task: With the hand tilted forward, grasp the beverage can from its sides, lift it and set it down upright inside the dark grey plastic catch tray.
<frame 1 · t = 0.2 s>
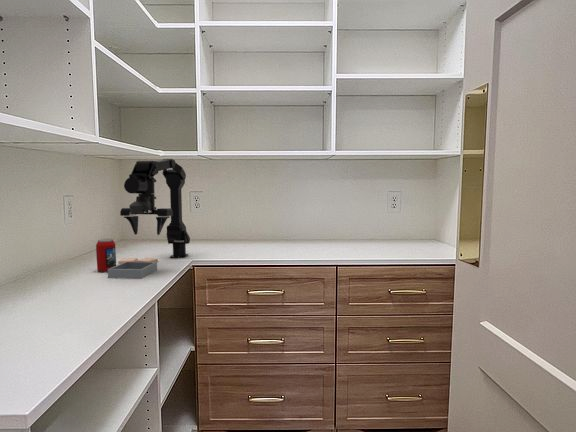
hand: (147, 234, 141), 14 cm above the worktop, tool pointing down, fingers open, 9 cm apart
tile a: (128, 262, 158), on the worktop
tile b: (147, 262, 158), on the worktop
catch tray: (133, 273, 139), on the worktop
beverage can: (107, 270, 144), on the worktop
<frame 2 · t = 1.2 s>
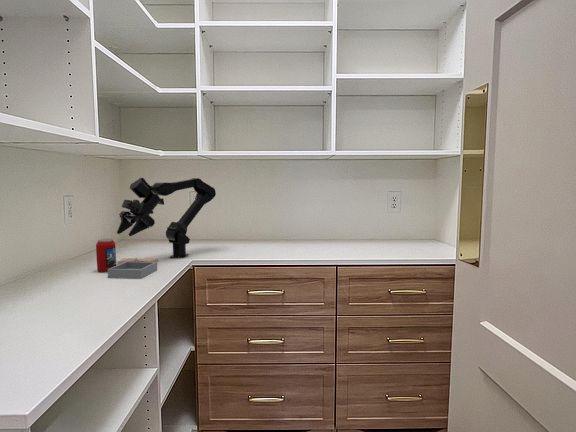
hand: (123, 234, 148), 13 cm above the worktop, tool tilted 45°, fingers open, 9 cm apart
nothing on the worktop moved.
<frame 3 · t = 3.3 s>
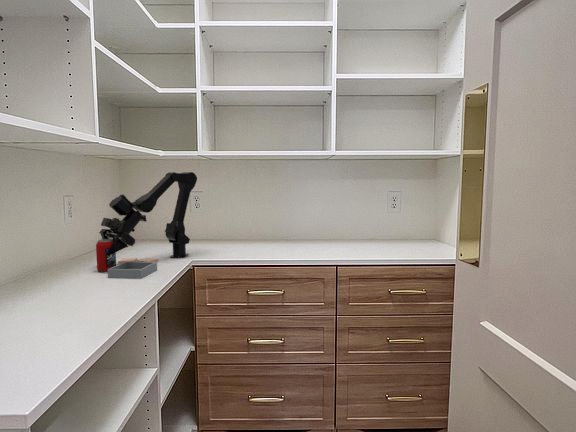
hand: (102, 254, 142), 7 cm above the worktop, tool tilted 45°, fingers closed on beverage can, 7 cm apart
beverage can: (107, 270, 144), on the worktop, touching gripper
when the fingers open (8 cm above the worktop, at t = 7.2 s): beverage can drops 1 cm, resting on catch tray.
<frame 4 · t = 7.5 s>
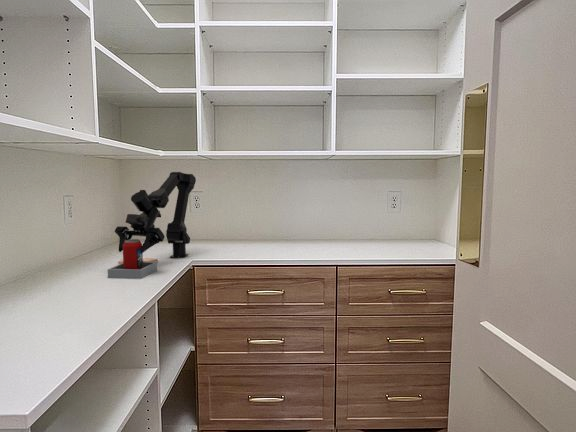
hand: (130, 252, 137), 9 cm above the worktop, tool tilted 45°, fingers open, 9 cm apart
beverage can: (133, 272, 139), resting on catch tray
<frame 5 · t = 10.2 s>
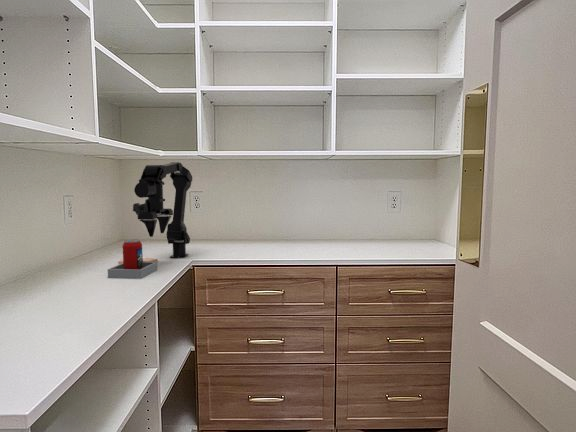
hand: (156, 234, 150), 13 cm above the worktop, tool pointing down, fingers open, 9 cm apart
nothing on the worktop moved.
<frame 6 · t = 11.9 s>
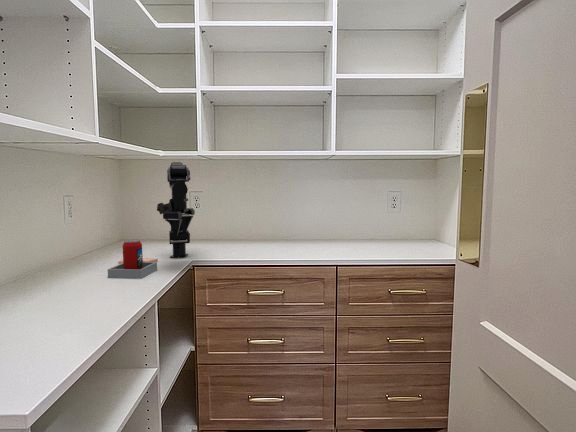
hand: (180, 234, 150), 13 cm above the worktop, tool pointing down, fingers open, 9 cm apart
nothing on the worktop moved.
at the end: beverage can inside the target area on the catch tray (0.2 cm from its centre), point 0.4 cm above the catch tray's base; beverage can tilted 0°; the gripper is holding nothing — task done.
